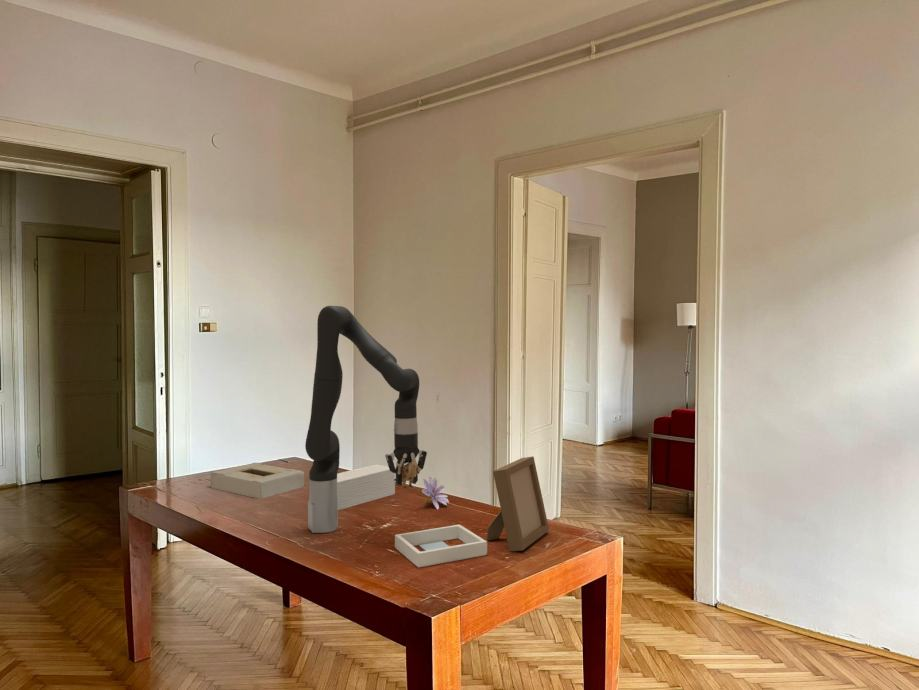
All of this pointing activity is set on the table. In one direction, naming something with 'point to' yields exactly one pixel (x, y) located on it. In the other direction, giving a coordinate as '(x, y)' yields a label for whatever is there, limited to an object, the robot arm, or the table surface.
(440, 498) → the water lily
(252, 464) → the box
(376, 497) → the stack of papers
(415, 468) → the lion figurine
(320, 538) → the table surface
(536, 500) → the photo frame
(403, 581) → the table surface
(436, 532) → the low pen
